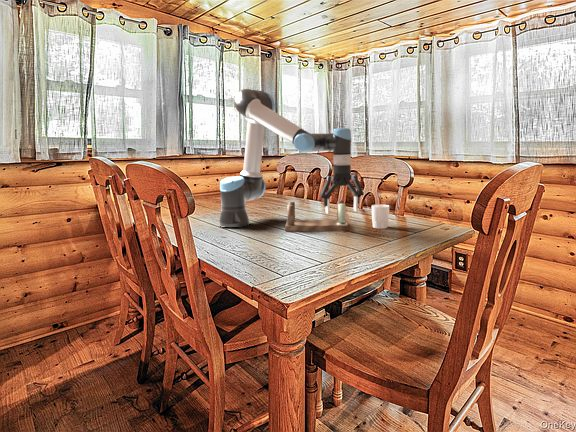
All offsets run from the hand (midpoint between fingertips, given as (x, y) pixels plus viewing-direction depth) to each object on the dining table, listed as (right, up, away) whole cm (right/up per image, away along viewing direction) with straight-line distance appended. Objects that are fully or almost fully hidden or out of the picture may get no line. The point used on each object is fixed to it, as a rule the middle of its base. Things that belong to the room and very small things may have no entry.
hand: (341, 212), depth 170 cm
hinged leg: (0, -4, +4) cm, 6 cm away
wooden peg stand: (-11, -7, +7) cm, 14 cm away
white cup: (+18, -7, +4) cm, 20 cm away
